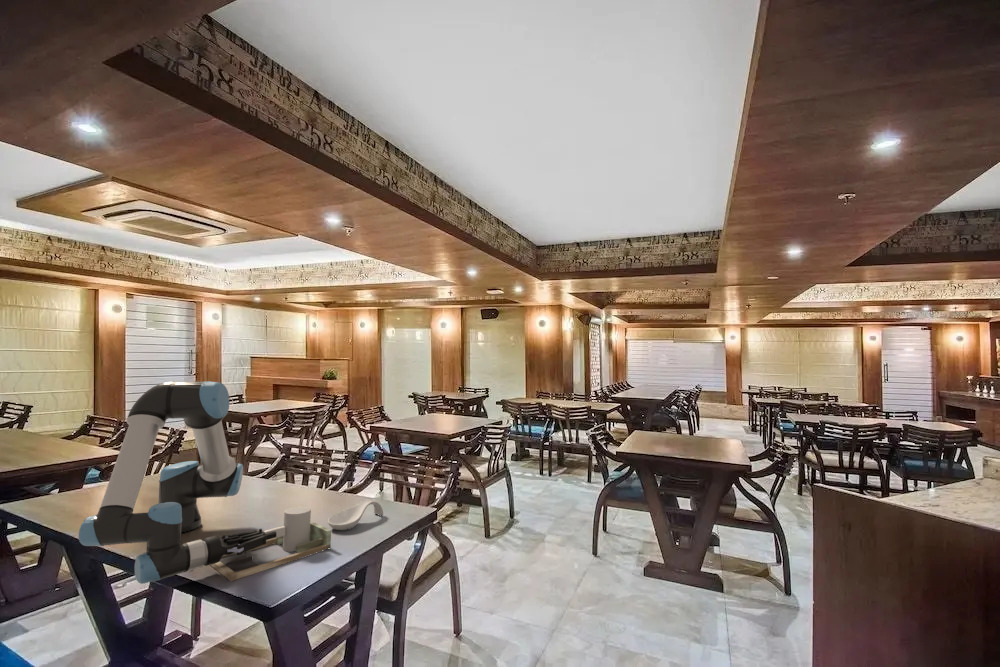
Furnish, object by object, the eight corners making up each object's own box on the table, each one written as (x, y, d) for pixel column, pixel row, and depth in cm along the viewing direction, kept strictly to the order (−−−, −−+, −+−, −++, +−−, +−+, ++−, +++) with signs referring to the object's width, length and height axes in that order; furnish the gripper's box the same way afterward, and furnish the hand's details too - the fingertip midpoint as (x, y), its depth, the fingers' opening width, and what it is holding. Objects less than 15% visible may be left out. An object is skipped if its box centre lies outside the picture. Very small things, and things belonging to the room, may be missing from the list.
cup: (302, 540, 162) (304, 504, 163) (313, 546, 157) (315, 510, 157) (278, 546, 156) (280, 510, 157) (289, 554, 151) (290, 515, 152)
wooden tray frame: (205, 561, 144) (206, 541, 144) (301, 534, 168) (302, 517, 168) (231, 581, 132) (232, 559, 132) (330, 548, 156) (331, 530, 156)
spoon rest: (342, 536, 167) (342, 515, 167) (320, 529, 173) (320, 510, 173) (389, 517, 187) (390, 499, 188) (368, 512, 193) (369, 494, 194)
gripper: (194, 559, 139) (274, 537, 157) (211, 572, 131) (293, 547, 149) (195, 533, 140) (275, 514, 158) (212, 545, 131) (294, 523, 149)
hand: (284, 530), depth 153 cm, fingers closed
